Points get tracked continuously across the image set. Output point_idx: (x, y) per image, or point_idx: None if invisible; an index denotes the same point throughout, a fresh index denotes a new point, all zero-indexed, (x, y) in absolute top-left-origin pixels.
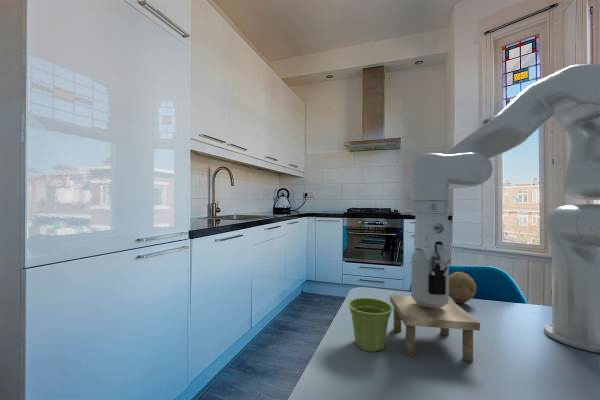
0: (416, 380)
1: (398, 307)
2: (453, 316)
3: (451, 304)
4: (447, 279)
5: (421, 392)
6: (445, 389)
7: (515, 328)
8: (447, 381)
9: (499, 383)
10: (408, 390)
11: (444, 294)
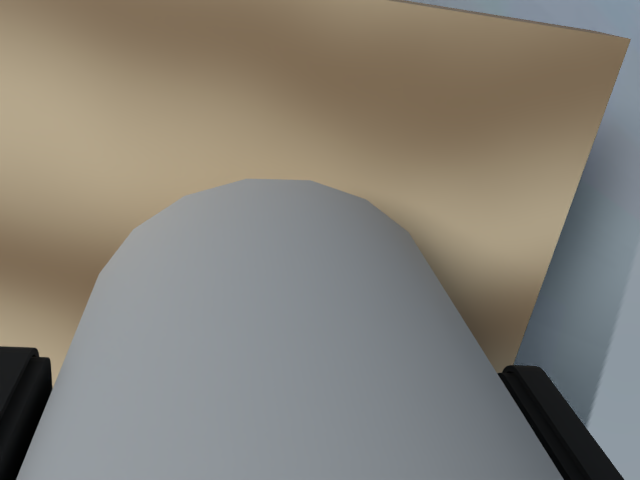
0: (540, 349)
1: None
2: (478, 195)
3: (166, 34)
4: (519, 413)
5: (598, 354)
6: (605, 273)
7: None
8: (568, 244)
9: (631, 19)
10: (580, 387)
11: (529, 368)
